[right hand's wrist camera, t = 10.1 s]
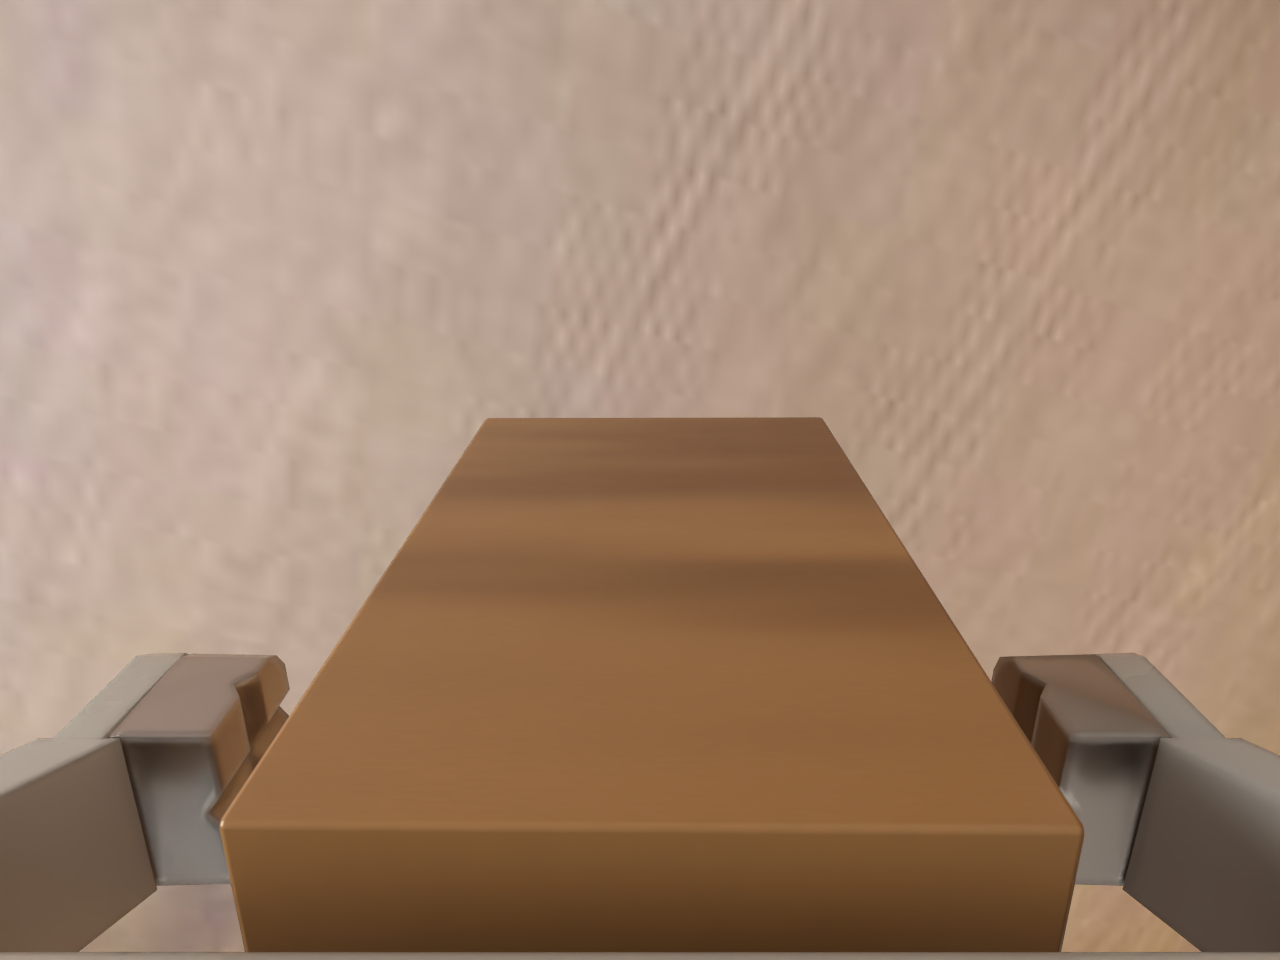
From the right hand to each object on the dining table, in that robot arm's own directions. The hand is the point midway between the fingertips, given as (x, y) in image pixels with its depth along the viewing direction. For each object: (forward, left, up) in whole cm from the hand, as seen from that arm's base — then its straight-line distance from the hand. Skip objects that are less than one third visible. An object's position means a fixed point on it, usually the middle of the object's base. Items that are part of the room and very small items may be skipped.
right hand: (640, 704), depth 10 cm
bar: (+10, 0, -5) cm, 11 cm away
